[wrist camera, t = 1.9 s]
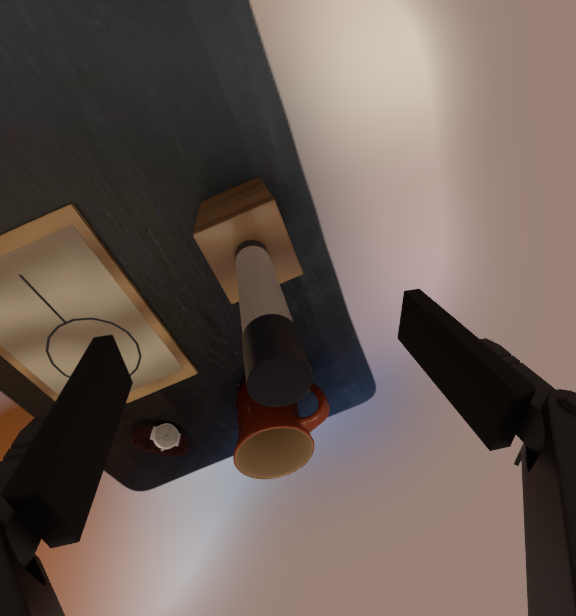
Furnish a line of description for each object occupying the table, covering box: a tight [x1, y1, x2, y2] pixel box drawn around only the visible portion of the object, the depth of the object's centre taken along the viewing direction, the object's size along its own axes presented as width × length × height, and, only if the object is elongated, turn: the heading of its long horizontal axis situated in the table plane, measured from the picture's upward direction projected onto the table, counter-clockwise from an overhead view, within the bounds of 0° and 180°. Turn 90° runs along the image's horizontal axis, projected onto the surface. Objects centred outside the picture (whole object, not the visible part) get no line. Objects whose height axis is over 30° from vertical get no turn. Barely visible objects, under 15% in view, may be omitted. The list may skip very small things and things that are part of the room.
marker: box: [235, 240, 313, 407], centre depth 17 cm, size 2×2×13 cm
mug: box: [233, 378, 329, 479], centre depth 38 cm, size 12×9×10 cm
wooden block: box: [193, 177, 303, 304], centre depth 27 cm, size 6×6×10 cm
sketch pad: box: [0, 203, 198, 404], centre depth 34 cm, size 22×16×1 cm
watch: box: [130, 423, 189, 456], centre depth 42 cm, size 8×5×4 cm, turn 54°
